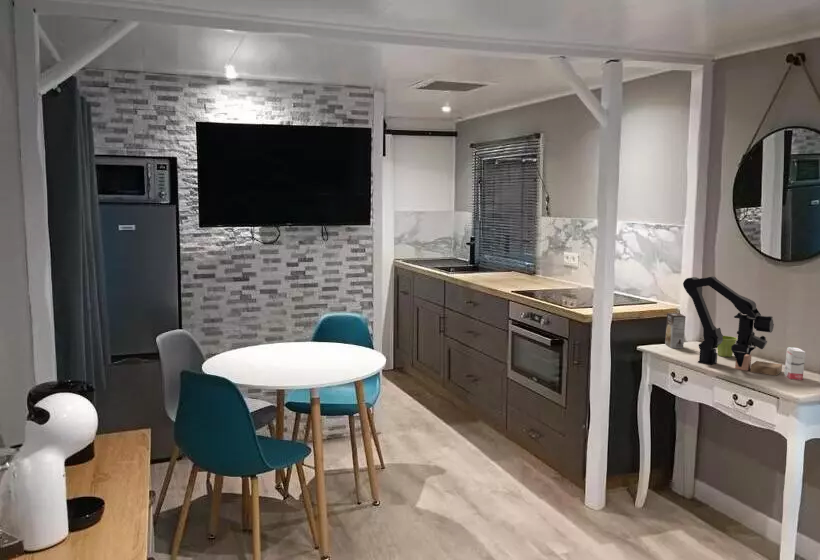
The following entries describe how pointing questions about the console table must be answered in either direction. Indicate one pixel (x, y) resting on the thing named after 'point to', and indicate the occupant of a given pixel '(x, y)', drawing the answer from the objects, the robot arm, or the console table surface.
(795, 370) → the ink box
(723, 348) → the plant pot
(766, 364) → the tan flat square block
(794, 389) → the console table surface
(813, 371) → the console table surface
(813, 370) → the console table surface
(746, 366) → the peach block
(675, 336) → the coffee box
